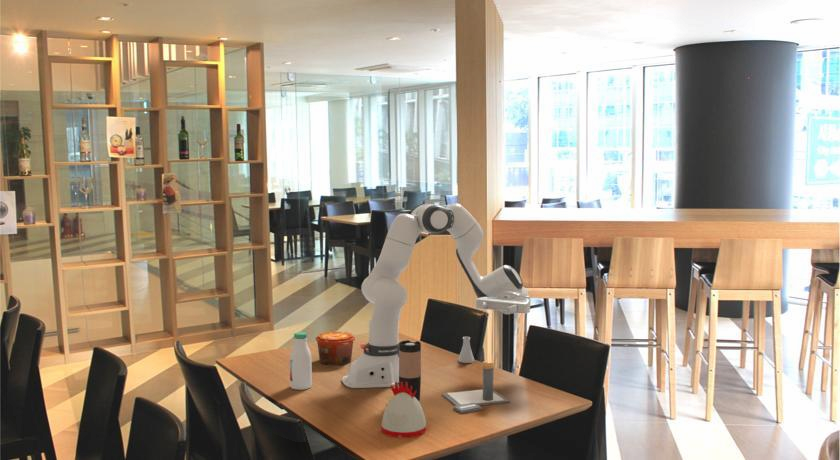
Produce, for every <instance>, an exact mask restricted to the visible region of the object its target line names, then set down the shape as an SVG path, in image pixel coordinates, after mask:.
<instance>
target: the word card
mask: <svg viewBox="0 0 840 460" xmlns="http://www.w3.org/2000/svg"><path fill="white" fill-rule="evenodd" d="M453 410H454V411H456V412H458V413H460V414H467V413H473V412H477V411H481V410H483V406H482V405H480V406H479V405H477V404H475V403H469V404H463V405H458V406H455V405H453Z"/></svg>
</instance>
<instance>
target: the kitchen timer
mask: <svg viewBox="0 0 840 460" xmlns="http://www.w3.org/2000/svg"><path fill="white" fill-rule="evenodd" d="M390 389H391V391H392V393H393V396H392V397H391V398H390V399H389V401H388V402H387V403H386V404H385V409H384V412H383V415H382V419H381V427H380V431H381V432H382V433H383V434H385V435H386V436H389V437H392V438H393V437H394V438H402V439H403V438H404V439H405V438H416V437H419V436H422V435H423V434H425V433H426V432H427V420H426V419H427V418H426V416H425V412H424V410H423V406H422V405H421V402H419V401H420V400H419V401H418V400H417V399H416V398H415V397H414V396H415V394H416V391H417V390H416V391H415V392H414V393H413V394H412V393H411V390H412V386H411V387H410V389H408V384H407V382H406V384H405V388H403V382H401V385H400V389H399V383H397V382H395V385H394V386H392V385H391V387H390Z"/></svg>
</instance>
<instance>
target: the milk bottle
mask: <svg viewBox="0 0 840 460" xmlns="http://www.w3.org/2000/svg"><path fill="white" fill-rule="evenodd" d="M293 340H294V344H293V346H292V349H291V350H290V356H289V379H290V380H289V382H290V383H289V385H290V388H291V389H292V390H296V391H297V390H300V391H301V390H303V391H304V390H308V389H310V388H311V387H312V385H313V384H312V383H313V382H312V380H313V379H312V378H313V377H312V375H313V373H312V372H313V370H312V368H313V367H312V354H311V350H310V348H309V346H308V342H307V340H308V334H307V332H304V331H299V332H295V333H293Z"/></svg>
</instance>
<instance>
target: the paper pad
mask: <svg viewBox="0 0 840 460" xmlns="http://www.w3.org/2000/svg"><path fill="white" fill-rule="evenodd" d="M441 396H443V397H444V398H445V399H447V401H449V402H450V403H451V404H452V405H453V406H458V405H463V404H469V403H475V404H477V405H479V406H488V405H496V404H504V403H510V400H509V399H507V398H506V397H504V396H503V395H502V394H500V393H498V391H496V390H494V389H493V400H491V401H486V400H483V388H482V389H481V388H480V389H473V390H462V391H461V390H460V391H453V392H444V393H443V392H442V393H441Z"/></svg>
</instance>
